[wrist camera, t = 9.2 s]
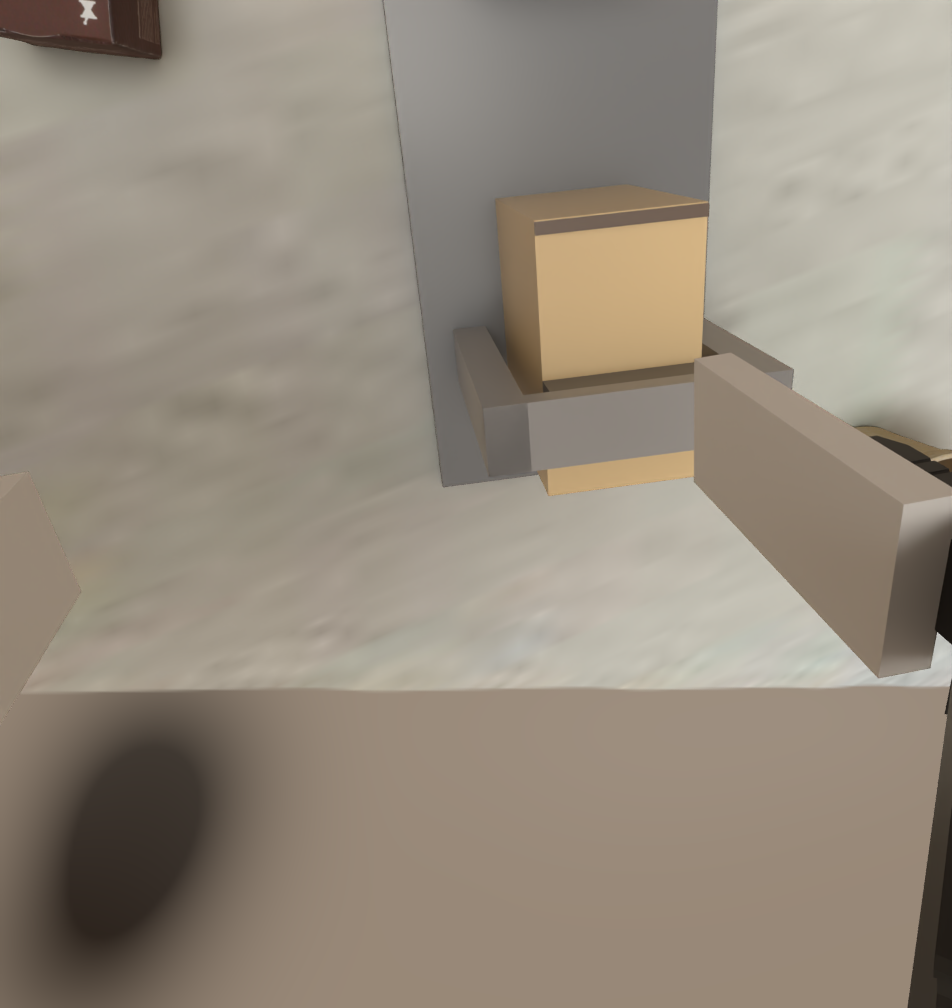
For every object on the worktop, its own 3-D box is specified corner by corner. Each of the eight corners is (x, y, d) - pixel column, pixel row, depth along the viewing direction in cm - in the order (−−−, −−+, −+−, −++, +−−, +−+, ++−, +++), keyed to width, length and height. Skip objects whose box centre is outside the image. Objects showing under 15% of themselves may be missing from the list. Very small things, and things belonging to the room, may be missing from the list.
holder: (442, 481, 47) (466, 612, 34) (359, -190, 33) (347, -396, 20) (693, 448, 48) (807, 563, 35) (720, -217, 34) (928, -431, 21)
